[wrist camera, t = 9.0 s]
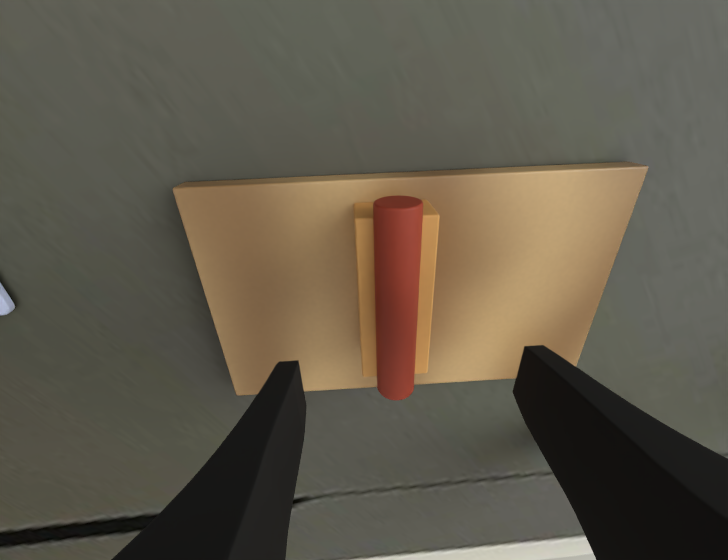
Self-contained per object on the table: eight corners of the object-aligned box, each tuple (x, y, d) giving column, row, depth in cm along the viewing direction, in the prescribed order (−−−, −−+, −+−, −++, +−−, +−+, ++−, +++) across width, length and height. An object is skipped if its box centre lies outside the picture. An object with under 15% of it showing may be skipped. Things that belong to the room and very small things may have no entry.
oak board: (241, 380, 20) (236, 396, 19) (183, 181, 14) (170, 188, 13) (562, 361, 21) (573, 375, 20) (628, 161, 15) (650, 165, 14)
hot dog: (360, 356, 18) (363, 403, 15) (352, 188, 14) (354, 210, 11) (418, 353, 18) (431, 398, 15) (428, 184, 14) (449, 206, 11)
